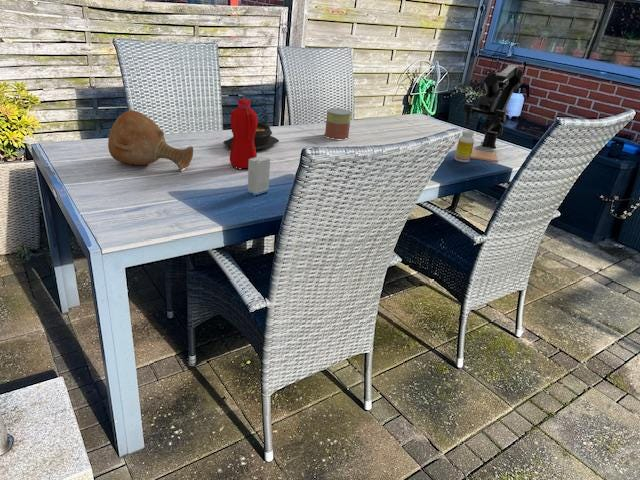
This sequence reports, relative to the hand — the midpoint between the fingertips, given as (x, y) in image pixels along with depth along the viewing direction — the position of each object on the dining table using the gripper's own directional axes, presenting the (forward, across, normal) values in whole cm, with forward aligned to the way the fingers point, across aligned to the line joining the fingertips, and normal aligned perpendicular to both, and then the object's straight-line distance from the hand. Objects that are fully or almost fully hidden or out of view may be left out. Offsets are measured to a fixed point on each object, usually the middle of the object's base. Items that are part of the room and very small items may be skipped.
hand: (476, 129), depth 220 cm
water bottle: (+66, -59, -56) cm, 104 cm away
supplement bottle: (+15, -1, +3) cm, 15 cm away
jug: (+82, -82, -74) cm, 138 cm away
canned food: (+24, -58, -8) cm, 63 cm away
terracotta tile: (+5, +4, +13) cm, 15 cm away
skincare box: (+76, -38, -67) cm, 109 cm away
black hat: (+52, -74, -39) cm, 99 cm away
